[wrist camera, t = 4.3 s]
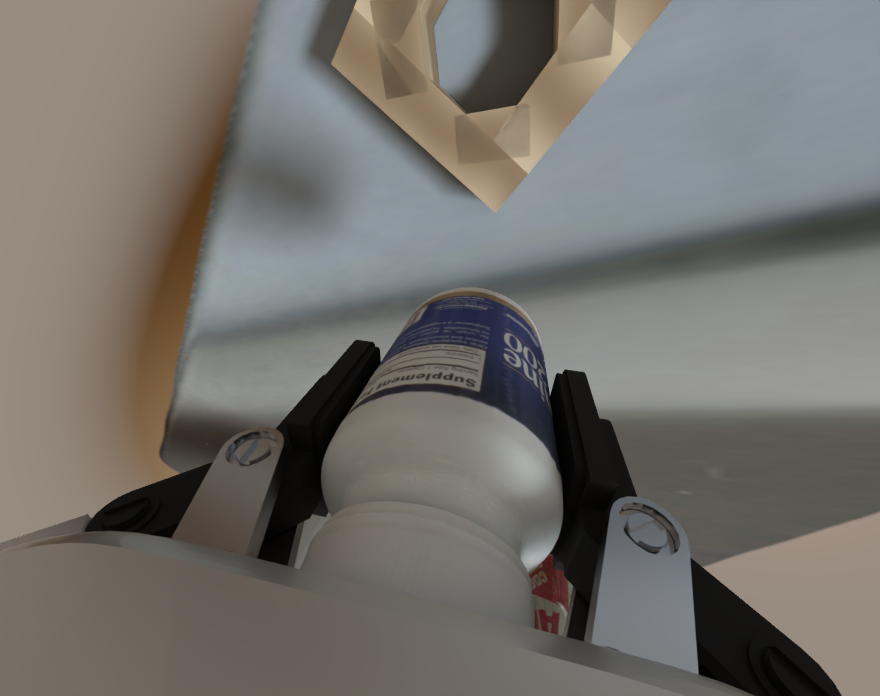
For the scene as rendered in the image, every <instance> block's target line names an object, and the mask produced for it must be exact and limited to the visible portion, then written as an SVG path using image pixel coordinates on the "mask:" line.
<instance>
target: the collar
mask: <svg viewBox="0 0 880 696" xmlns="http://www.w3.org/2000/svg"><path fill="white" fill-rule="evenodd" d="M671 1H672V0H554V27H553V56H552V58H551V59H550V61H549V62H548V63H547V65H546V66H545V67H544V69H543V70H542V72H541V73H540V74H539V76H538V77H537V79H536V80H535V81H534V83H533V84H532V85H531V87H530V88H529V90H528V91H527V92H526V94H525V95H524V97H523V98H522V99H521V101H520V102H519V103H518V105H515V106H510V107H504V108H498V109H492V110H487V111H481V112H475V113H470V114H468V113H467V112H466V111H465V110H464V109H463V108H462V107H461V106H460V105H459V104H458V103H457V102H456V101H455V100H454V99H453V98H452V97H451V96H450V95H449V94H447V93H446V92H445V91H444V90H443V89H442V88H441V87H440V84H439V74H438V65H437V55H436V45H435V36H434V25H435V23H436V21H437V19H438V18H439V16H440V14H441V12H442V10H443V8H444V6H445V4H446V2H447V0H357V1H356V4H355V6H354V9H353V11H352V14H351V16H350V19H349V21H348V23H347V26H346V28H345V31H344V33H343V36H342V38H341V41H340V43H339V46H338V48H337V51H336V53H335V55H334V58H333V60H332V63H331V65H332V66H333V67H335V68H336V69H337V70H338V71H339V72H340V73H341V74H342V75H343V76H345V77H346V78H347V79H348V80H349V81H350V82H351V83H352V84H353V85H354V86H356V87H357V88H358V89H359V90H360V91H361V92H362V93H363V94H364V95H366V96H367V97H368V98H369V99H370V100H371V101H372V102H373V103H374V104H375V105H377V106H378V107H379V108H380V109H381V110H382V111H383V112H384V113H385V114H387V115H388V116H389V117H390V118H391V119H392V120H393V121H394V122H395V123H396V124H398V125H399V126H400V127H401V128H402V129H403V130H404V131H405V132H406V133H408V134H409V135H410V136H411V137H412V138H413V139H414V140H415V141H416V142H418V143H419V144H420V145H421V146H422V147H423V148H424V149H425V150H426V151H427V152H429V153H430V154H431V155H432V156H433V157H434V158H435V159H436V160H437V161H439V162H440V163H441V164H442V165H443V166H444V167H445V168H446V169H447V170H448V171H450V172H451V173H452V174H453V175H454V176H455V177H456V178H457V179H458V180H460V181H461V182H462V183H463V184H464V185H465V186H466V187H467V188H468V189H469V190H471V191H472V192H473V193H474V194H475V195H476V196H477V197H478V198H479V199H481V200H482V201H483V202H484V203H485V204H486V205H487V206H488V207H489V208H491V209H492V210H493V211H494V212H495V213H496V212H497V210H498V209H499V208H500V207H501V206H502V204H503V203H504V202H505V201H506V200H507V198H508V197H509V196H510V195H511V194H512V192H513V191H514V190H515V189H516V188H517V186H518V185H519V184H520V183H521V182H522V180H523V179H524V178H525V177H526V175H527V174H528V173H529V172H530V171H531V169H532V168H533V167H534V166H535V165H536V163H537V162H538V161H539V160H540V159H541V157H542V156H543V155H544V154H545V153H546V151H547V150H548V149H549V148H550V147H551V145H552V144H553V143H554V142H555V141H556V139H557V138H558V137H559V136H560V134H561V133H562V132H563V131H564V130H565V128H566V127H567V126H568V125H569V124H570V122H571V121H572V120H573V119H574V118H575V116H576V115H577V114H578V113H579V112H580V110H581V109H582V108H583V107H584V106H585V104H586V103H587V102H588V101H589V100H590V98H591V97H592V96H593V95H594V93H595V92H596V91H597V90H598V89H599V87H600V86H601V85H602V84H603V83H604V81H605V80H606V79H607V78H608V77H609V75H610V74H611V73H612V72H613V71H614V69H615V68H616V67H617V66H618V65H619V63H620V62H621V61H622V60H623V59H624V57H625V56H626V55H627V54H628V52H629V51H630V50H631V49H632V48H633V46H634V45H635V44H636V43H637V42H638V40H639V39H640V38H641V37H642V36H643V34H644V33H645V32H646V31H647V30H648V28H649V27H650V26H651V25H652V24H653V22H654V21H655V20H656V19H657V18H658V16H659V15H660V14H661V13H662V11H663V10H664V9H665V8H666V7H667V5H668V4H669V3H670V2H671Z"/></svg>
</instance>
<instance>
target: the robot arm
mask: <svg viewBox="0 0 880 696" xmlns="http://www.w3.org/2000/svg"><path fill="white" fill-rule="evenodd" d="M380 363H381V361H380V349H379V347H375V344H374V343H373V342H369V341H362V340H355V341H354V342H353V344H352V345H351V346H350V347H349V348H348V349H347V350H346V352H345V353H344V354H343V355H342V356H341V357H340V359H339V360H338V361H337V362H336V363H335V364H334V366H333V367H332V368H331V369H330V370H329V371H328V372H327V374H326V375H323V376H322V377H321V378H320V379H319V380H318V381H317V382H316V383H315V384H314V386H313V387H312V388H311V389H310V390H309V391H308V392H307V394H306V395H305V396H304V397H303V398H302V399H301V400H300V402H299V403H298V404H297V405H296V406H295V407H294V409H293V410H292V411H291V412H290V413H289V414H288V415H287V417H286V418H285V419H284V420H283V421H282V422H281V423H280V425H279V426H278V427H277V428H276V429H274V428H271V427H256V428H251V429H248V430H245V431H242V432H240V433H239V434H237V435H235V436H233V437H232V438H231V439H229V440H228V441H227V442H226V443H225V444H224V445H223V447H222V448H221V449H220V451H219V453H218V455H217V456H216V458H215V460H214V462H212V463H209V464H206V465H203V466H201V467H198V468H195V469H192V470H190V471H187V472H184V473H181V474H178V475H176V476H173V477H170V478H168V479H164V480H162V481H159V482H156V483H154V484H151V485H148V486H145V487H142V488H139V489H137V490H134V491H131V492H129V493H127V494H125V495H122V496H121V497H118V498H117V499H115V500H113V501H112V502H110V503H109V504H107V505H106V506H105V507H104V508H102V509H101V510H100V511H99V512H98V513H96V514H95V516H94V517H93V518H92V519H91V518H90V517H89V515H88V514H87V515H84V516H81V517H78V518H75V519H72V520H69V521H66V522H63V523H60V524H57V525H54V526H51V527H48V528H45V529H42V530H38V531H35V532H32V533H29V534H27V535H23V536H21V537H17V538H14V539H11V540H8V541H6V542H2V543H0V696H841V694H840V692H839V690H838V689H837V688H836V685H835V684H834V682H833V681H832V680H831V679H830V678H829V676H828V675H827V674H826V673H825V672H824V670H823V669H822V668H821V667H820V666H819V664H818V663H816V662H815V661H814V660H813V659H812V658H811V657H810V656H809V655H808V654H807V653H806V652H805V651H804V650H802V649H801V648H800V647H799V646H798V645H797V644H795V643H794V642H793V641H792V640H790V639H789V638H788V637H787V636H785V635H784V634H783V633H782V632H780V631H779V630H778V629H777V628H776V627H775V626H773V625H772V624H771V623H770V622H768V621H767V620H766V619H765V618H764V617H762V616H761V615H760V614H759V613H757V612H756V611H755V610H753V608H751V607H750V606H749V605H748V604H746V603H745V602H744V601H743V600H742V599H740V598H739V597H738V596H737V595H735V594H734V593H733V592H732V591H731V590H729V589H728V588H727V587H726V586H725V585H723V584H722V583H721V582H720V581H718V580H717V579H716V578H715V577H714V576H712V575H711V574H710V573H709V572H707V571H706V570H705V569H704V568H703V567H701V566H700V565H699V564H698V563H696V562H695V561H694V560H693V559H692V558H690V548H689V543H688V539H687V535H686V534H685V532H684V530H683V529H682V527H681V525H680V524H679V523H678V522H677V521H676V520H675V518H674V517H673V516H672V515H671V514H669V513H668V512H667V511H666V510H664V509H663V508H662V507H660V506H658V505H657V504H655V503H653V502H651V501H649V500H646V499H643V498H639V497H637V495H636V492H635V489H634V486H633V483H632V481H631V478H630V475H629V472H628V469H627V466H626V463H625V460H624V458H623V455H622V452H621V449H620V446H619V443H618V440H617V437H616V435H615V432H614V429H613V426H612V424H611V422H610V421H609V420H606V419H600V418H599V416H598V413H597V409H596V406H595V403H594V400H593V396H592V393H591V390H590V387H589V383H588V380H587V377H586V374H585V373H584V372H578V371H572V370H564V372H563V374H559V373H557V374H556V377H555V380H554V384H553V388H552V391H551V395H550V401H551V408H552V417H553V424H554V431H555V438H556V444H557V450H558V458H559V464H560V471H561V476H562V488H563V523H562V527H561V531H560V534H559V537H558V539H557V541H556V543H555V545H554V547H553V549H552V551H551V552H550V553H549V554H552V556H553V568H554V569H556V570H560V571H564V577H565V578H566V579H567V580H568V581H569V582H570V583H571V584H572V586H573V589H572V594H571V599H570V604H569V608H568V613H567V618H566V623H565V628H564V632H563V636H560V635H556V634H552V633H548V632H545V631H541V630H537V629H533V628H529V627H525V626H521V625H518V624H514V623H510V622H506V621H502V620H498V619H494V618H491V617H487V616H483V615H479V614H475V613H471V612H467V611H464V610H460V609H456V608H452V607H448V606H444V605H440V604H436V603H432V602H428V601H424V600H420V599H416V598H412V597H408V596H404V595H401V594H397V593H393V592H389V591H385V590H381V589H377V588H373V587H369V586H365V585H361V584H357V583H353V582H349V581H345V580H341V579H337V578H333V577H329V576H325V575H321V574H317V573H313V572H309V571H305V570H301V569H300V567H301V565H302V562H303V560H304V558H305V556H306V554H307V550H308V547H309V544H310V542H311V540H312V539H313V537H314V536H315V535H316V533H317V532H318V531H319V530H320V529H321V528H322V527H323V525H324V524H325V522H326V521H327V520H328V519H330V518H331V515H330V513H329V511H328V508H327V505H326V503H325V500H324V496H323V492H322V486H321V471H322V464H323V460H324V456H325V453H326V450H327V448H328V446H329V444H330V442H331V440H332V439H333V437H334V435H335V433H336V431H337V429H338V427H339V426H340V424H341V423H342V421H343V420H344V419H345V417H346V416H347V414H348V413H349V411H350V410H351V408H352V406H353V405H354V403H355V402H356V400H357V399H358V397H359V396H360V394H361V393H362V391H363V390H364V388H365V387H366V385H367V383H368V382H369V380H370V378H371V377H372V375H373V374H374V372H375V371H376V369H377V368H378V366H379V365H380Z"/></svg>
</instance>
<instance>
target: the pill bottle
mask: <svg viewBox="0 0 880 696" xmlns="http://www.w3.org/2000/svg"><path fill="white" fill-rule="evenodd" d="M321 486H322V492H323V496H324V500H325V503H326V505H327V508H328V511H329V513H330V515H331V518H330V519H328V520H327V521H326V522H325V524H324V525H323V527H322V528H321V529H320V530H319V531H318V532H317V533H316V535H315V536H314V537H313V539H312V540H311V542H310V544H309V547H308V550H307V554H306V556H305V558H304V560H303V562H302V565H301V567H300V569H301V570H305V571H309V572H313V573H317V574H321V575H325V576H329V577H333V578H337V579H341V580H345V581H349V582H353V583H357V584H361V585H365V586H369V587H373V588H377V589H381V590H385V591H389V592H393V593H397V594H401V595H404V596H408V597H412V598H416V599H420V600H424V601H428V602H432V603H436V604H440V605H444V606H448V607H452V608H456V609H460V610H464V611H467V612H471V613H475V614H479V615H483V616H487V617H491V618H494V619H498V620H502V621H506V622H510V623H514V624H518V625H521V626H525V627H529V628H533V629H535V603H534V598H533V594H532V584H531V579H530V576H529V572H531V571H532V570H533V569H535V568H536V567H537V566H538V565H539V564H540V563H541V562H543V561H544V560H545V558H546V557H547V556H548V554H549V553H550V552H551V551H552V549H553V547H554V545H555V543H556V541H557V539H558V537H559V534H560V531H561V527H562V523H563V488H562V476H561V471H560V464H559V458H558V450H557V444H556V438H555V431H554V424H553V417H552V408H551V401H550V394H549V387H548V381H547V375H546V368H545V362H544V355H543V350H542V346H541V341H540V337H539V334H538V332H537V329H536V327H535V325H534V323H533V322H532V320H531V319H530V317H529V316H528V314H527V313H526V312H525V311H524V310H523V309H522V308H521V307H520V306H519V305H518V304H517V303H515V302H514V301H512V300H511V299H509V298H507V297H506V296H504V295H501V294H499V293H496V292H493V291H490V290H486V289H482V288H473V287H464V288H457V289H451V290H447V291H444V292H441V293H439V294H437V295H435V296H433V297H431V298H430V299H428V300H427V301H426V302H424V303H423V304H422V305H421V306H420V307H419V308H418V309H417V310H416V311H415V312H414V314H413V315H412V316H411V317H410V319H409V320H408V322H407V323H406V325H405V326H404V328H403V329H402V331H401V333H400V334H399V336H398V337H397V339H396V340H395V342H394V343H393V345H392V347H391V348H390V349H389V351H388V352H387V354H386V355H385V357H384V358H383V360H382V362H381V363H380V365H379V366H378V368H377V369H376V371H375V372H374V374H373V375H372V377H371V378H370V380H369V382H368V383H367V385H366V387H365V388H364V390H363V391H362V393H361V394H360V396H359V397H358V399H357V400H356V402H355V403H354V405H353V406H352V408H351V410H350V411H349V413H348V414H347V416H346V417H345V419H344V420H343V421H342V423H341V424H340V426H339V427H338V429H337V431H336V433H335V435H334V437H333V439H332V440H331V442H330V444H329V446H328V448H327V450H326V453H325V456H324V460H323V464H322V471H321Z"/></svg>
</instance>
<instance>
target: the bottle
mask: <svg viewBox="0 0 880 696" xmlns="http://www.w3.org/2000/svg"><path fill="white" fill-rule="evenodd" d="M529 576H530V579H531V584H532V594H533V598H534V603H535V629H537V630H541V631H545V632H548V633H552V634H556V635H560V636H563V632H564V628H565V623H566V618H567V613H568V608H569V604H570V599H571V594H572V589H573V586H572V584H571V583H570V582H569V581H568V580H567V579H566V578H565V577H564V571H560V570H556V569H554V568H553V556H552V554H548V556H547V557H546V558H545V560H544V561H543V562H541V563H540V564H539V565H538V566H537V567H536V568H535V569H533V570H532V571H531V572H529Z"/></svg>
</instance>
